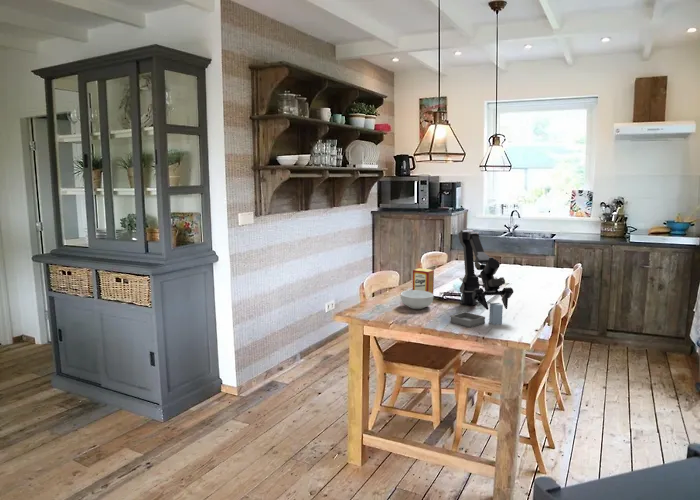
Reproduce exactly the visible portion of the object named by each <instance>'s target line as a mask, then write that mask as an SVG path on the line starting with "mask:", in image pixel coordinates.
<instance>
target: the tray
mask: <svg viewBox="0 0 700 500" xmlns="http://www.w3.org/2000/svg"><path fill="white" fill-rule="evenodd" d="M449 320H450V323H452V324H455V325H459V326H463V327H466V328H474V327H476V326H479V325H482V324H485V323H486V316H485V315H484V316H483V315H480V314H476V313H471V312H467V311H463V312H460V313H456V314H453V315H450V319H449Z"/></svg>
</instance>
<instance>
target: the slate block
mask: <svg viewBox="0 0 700 500" xmlns="http://www.w3.org/2000/svg"><path fill="white" fill-rule="evenodd" d="M503 307H504V304H503V303H500V302H492V303H489V316H488V317H489V319H488V320H489V321H488V322H489V323H490V324H491V323H492V324H491V325H502V324H503V311H504V309H503Z"/></svg>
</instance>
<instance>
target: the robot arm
mask: <svg viewBox="0 0 700 500" xmlns="http://www.w3.org/2000/svg"><path fill="white" fill-rule="evenodd" d="M458 239H459V243H460V244H461V245H460V246H462V247H463V248H462V249H463V261H464V273H465V274H464V276H463V278H462V283H461V285H460V286H459V293H460V294H462V295H461V296H462V297H461V302H460V305H464V306H468V307H471V306H475V305H478V303H479V304H481V306H482V307H484V308H485V310H487V311H488V310H489V305H488V303H487V299H486V296H500V297H501V301H502V305H503V307H504V309H505V310H507V309H508V301H509V299H510V298H511V297H512V295H513V294H514V289H513V288H512V287H503V288H502V290H499V289H500V288H501V287H502V286H503V285H505V284H506V280H505V277H502V276H501V277H499V278H495V277H494V275H495V274H496V273H497V271H498V270H499V268H500V262H499V261H498V260H496V259H495V258H494V257H490V256H489V255H488V254H487V253H486V252H485V250H484V248H483V245H482V241H481V239H480V234H479V232H477V231H474V230H473V229H469V230H468V229H467V230H466V229H465V230H463V229H461V230H460V232H458ZM474 257H475V259H474ZM475 269H476V271H480V273H479V277H478V276H477V275H476V274H475ZM479 279H481V282H482V288H480V286H481V285H480V282H479ZM477 302H478V303H477Z"/></svg>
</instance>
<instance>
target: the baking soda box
mask: <svg viewBox="0 0 700 500" xmlns="http://www.w3.org/2000/svg"><path fill="white" fill-rule="evenodd" d="M434 275H435V270H434V269H430V268H421V267H418V268H415V269H413V270H412V290H420V291H427V292H430V293H432V294H433V295H434V288H435V287H434V282H435V281H434V280H435V279H434V277H435V276H434Z"/></svg>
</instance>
